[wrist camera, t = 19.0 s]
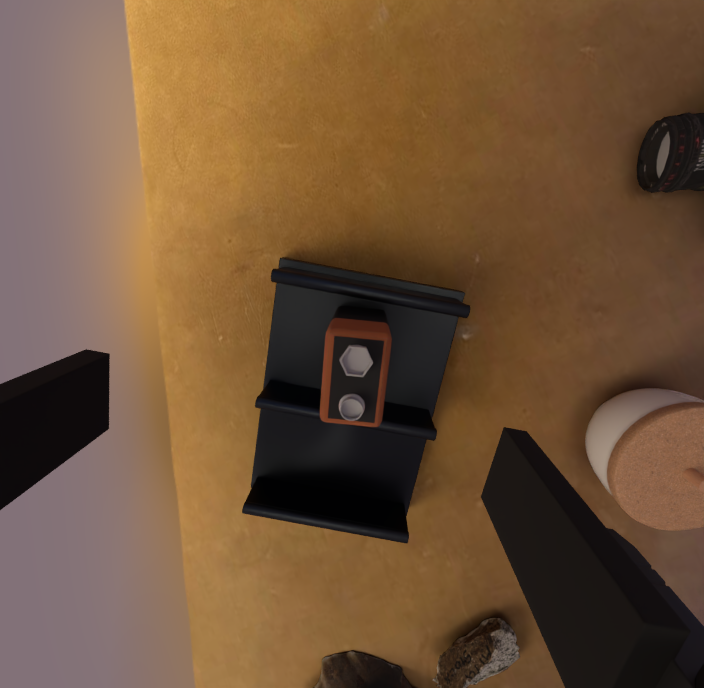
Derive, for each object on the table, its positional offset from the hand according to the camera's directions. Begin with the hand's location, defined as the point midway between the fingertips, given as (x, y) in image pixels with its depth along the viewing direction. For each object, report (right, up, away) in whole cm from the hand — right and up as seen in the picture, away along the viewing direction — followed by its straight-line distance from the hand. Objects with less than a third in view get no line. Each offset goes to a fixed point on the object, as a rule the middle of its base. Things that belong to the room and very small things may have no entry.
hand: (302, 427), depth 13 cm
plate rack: (+1, -2, +24) cm, 24 cm away
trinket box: (+27, -5, +24) cm, 36 cm away
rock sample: (+17, -31, +31) cm, 47 cm away
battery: (+2, +3, +22) cm, 22 cm away
